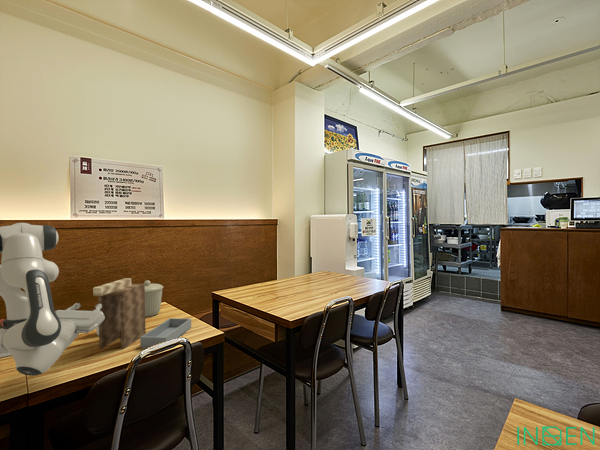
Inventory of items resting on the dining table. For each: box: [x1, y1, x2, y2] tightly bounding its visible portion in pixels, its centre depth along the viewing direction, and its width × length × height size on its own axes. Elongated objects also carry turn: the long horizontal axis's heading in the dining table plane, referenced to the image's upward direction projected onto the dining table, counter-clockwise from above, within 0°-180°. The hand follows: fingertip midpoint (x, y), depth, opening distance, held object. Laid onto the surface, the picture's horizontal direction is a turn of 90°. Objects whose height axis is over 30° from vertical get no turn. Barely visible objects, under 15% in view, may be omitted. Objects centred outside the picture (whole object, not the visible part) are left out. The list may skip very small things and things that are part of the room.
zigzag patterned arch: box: [97, 283, 147, 350], centre depth 143 cm, size 16×12×26 cm
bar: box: [92, 277, 133, 297], centre depth 136 cm, size 20×4×4 cm, turn 175°
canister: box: [143, 280, 164, 318], centre depth 182 cm, size 18×18×21 cm
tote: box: [139, 317, 192, 349], centre depth 147 cm, size 26×12×5 cm, turn 175°
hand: (89, 304), depth 122 cm, fingers open, 8 cm apart
